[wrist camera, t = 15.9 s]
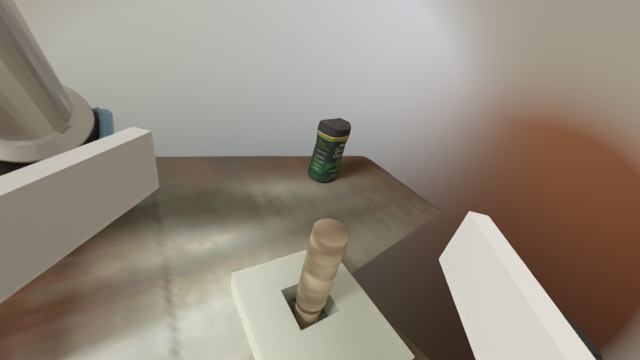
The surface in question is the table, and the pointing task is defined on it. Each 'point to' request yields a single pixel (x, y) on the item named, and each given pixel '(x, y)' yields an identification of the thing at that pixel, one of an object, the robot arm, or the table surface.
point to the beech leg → (319, 269)
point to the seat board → (322, 337)
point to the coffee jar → (329, 149)
